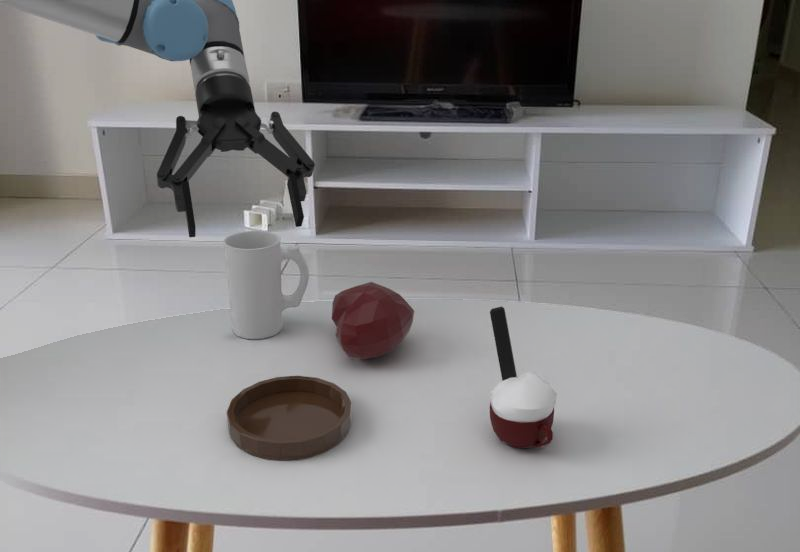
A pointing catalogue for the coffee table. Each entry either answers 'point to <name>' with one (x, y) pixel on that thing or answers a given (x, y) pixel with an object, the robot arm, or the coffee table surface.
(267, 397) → the tray
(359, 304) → the heart
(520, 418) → the cocoa
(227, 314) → the coffee table surface
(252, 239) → the mug
